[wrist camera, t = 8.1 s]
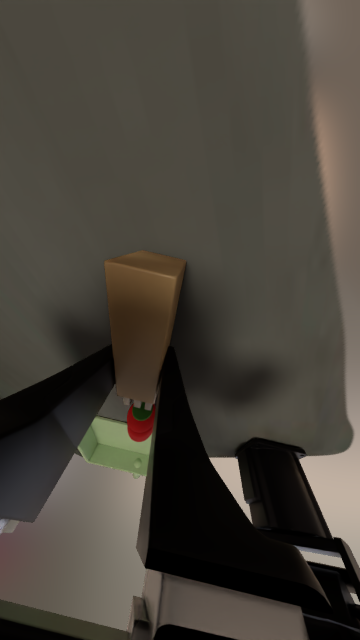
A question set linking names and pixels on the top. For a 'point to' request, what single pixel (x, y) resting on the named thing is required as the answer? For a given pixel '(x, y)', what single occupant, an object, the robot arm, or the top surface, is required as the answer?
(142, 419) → the strawberry
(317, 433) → the top surface
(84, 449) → the tray
